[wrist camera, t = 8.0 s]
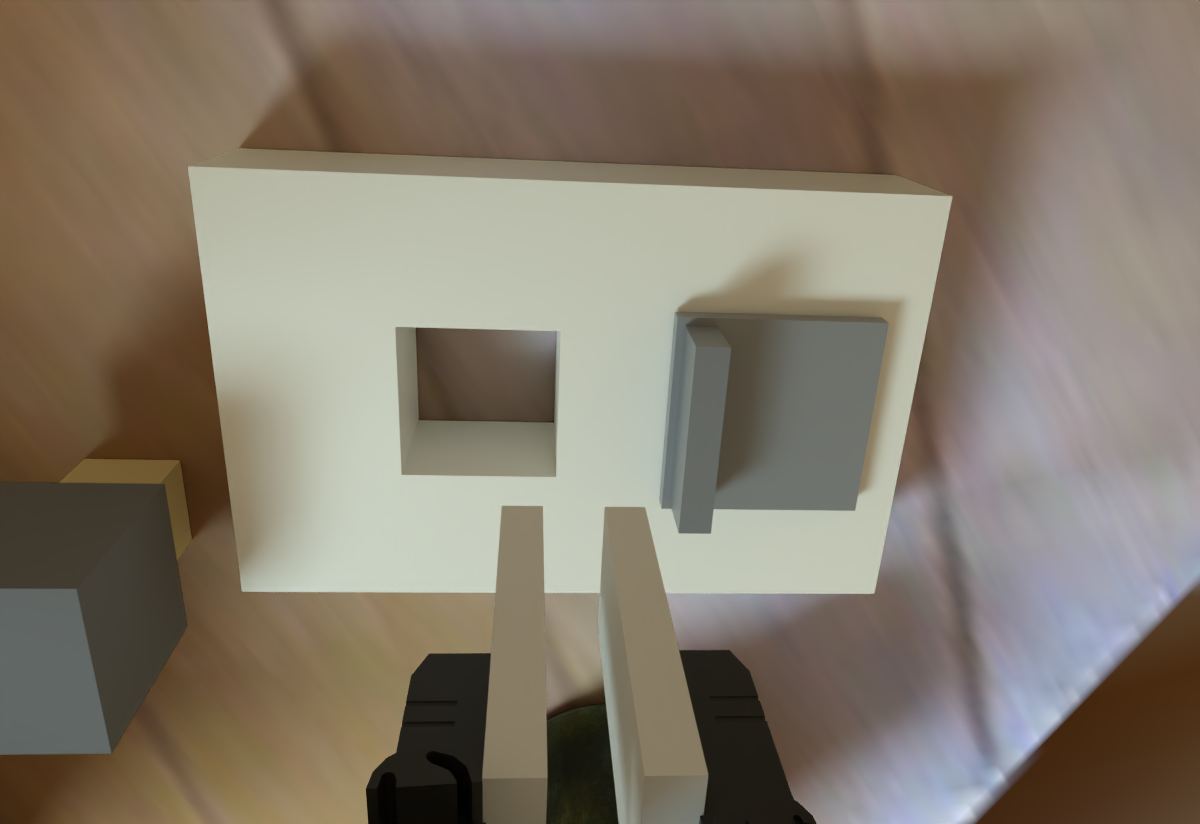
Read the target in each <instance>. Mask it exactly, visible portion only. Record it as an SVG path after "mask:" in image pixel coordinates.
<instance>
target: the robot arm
mask: <svg viewBox="0 0 1200 824" xmlns="http://www.w3.org/2000/svg"><path fill="white" fill-rule="evenodd" d="M598 634H599V643H600V653H601V662H602V672H603V681H604V690H605V700H606V709H607V718H608V728H609V737H610V746H611V756H612V765H613V774H614V784H615V793H616V803H617V812H618V821H619V824H816V822H815V820H814V818H813V816H812V815H811V814H810V813H809V812H808V811H807V810H806V809H805V808H804V807H803V806H801V805H800V804H799V803H798V802H797V801H795V800H794V798H793V796H792V794H791V792H790V789H789V786H788V783H787V780H786V777H785V774H784V771H783V768H782V765H781V762H780V759H779V756H778V753H777V751H776V748H775V745H774V742H773V739H772V736H771V733H770V730H769V727H768V724H767V721H765V715H764V712H763V709H762V706H761V704H760V701H758V695H757V692H756V689H755V686H754V683H753V680H752V677H751V674H750V671H749V670H748V669H747V668H746V667H745V666H744V665H743V664H742V663H741V662H740V661H739V660H738V659H737V658H736V657H735V656H734V655H733V653H732V652H731V651H730V650H681V651H679V648H678V644H677V640H676V636H675V631H674V627H673V623H672V619H671V614H670V610H669V606H668V602H667V597H666V593H665V589H664V585H663V580H662V576H661V572H660V568H659V564H658V559H657V555H656V551H655V547H654V542H653V538H652V534H651V530H650V525H649V521H648V517H647V513H646V509H645V507H605V510H604V528H603V546H602V564H601V582H600V599H599V617H598ZM547 778H548V777H547V717H546V658H545V598H544V539H543V506H502V509H501V523H500V537H499V551H498V564H497V578H496V592H495V606H494V620H493V634H492V648H491V653H473V654H429V655H428V656H427V657H426V658H425V660H424V661H423V662H422V663H421V664H420V666H419V667H418V668H417V669H416V671H415V672H414V673H413V674H412V676H411V680H410V685H409V690H408V695H407V701H406V706H405V711H404V716H403V721H402V727H401V731H400V736H399V742H398V747H397V752H396V753H395V754H393V755H391V756H389V757H387V758H386V759H385V760H384V761H383V762H382V763H381V764H380V765H379V766H378V767H377V768H376V769H375V770H374V771H373V773H372V775H371V778H370V780H369V783H368V785H367V788H366V796H367V811H368V824H546V809H547Z"/></svg>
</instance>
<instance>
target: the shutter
mask: <svg viewBox="0 0 1200 824" xmlns="http://www.w3.org/2000/svg"><path fill="white" fill-rule="evenodd" d="M888 325H889V323H888V322H887V321H886V320H884V319H883V318H882V317H848V316H812V315H777V314H741V313H706V312H675V315H674V327H673V339H672V351H671V363H670V375H669V387H668V399H667V412H666V424H665V436H664V448H663V460H662V472H661V484H660V496H659V501H660V505H661V509H672V512H673V516H674V519H675V523H676V526H677V530H678V533H688V534H711V528H712V519H713V510H714V509H736V510H829V511H855V509H856V503H857V498H858V492H859V487H860V481H861V475H862V470H863V464H864V459H865V453H866V448H867V442H868V436H869V431H870V425H871V420H872V414H873V409H874V403H875V397H876V392H877V386H878V381H879V375H880V370H881V364H882V358H883V353H884V347H885V342H886V336H887V330H888Z"/></svg>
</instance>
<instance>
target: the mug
mask: <svg viewBox="0 0 1200 824" xmlns="http://www.w3.org/2000/svg"><path fill="white" fill-rule="evenodd" d="M547 777H548V778H547V809H546V824H619V821H618V812H617V803H616V793H615V784H614V774H613V765H612V756H611V746H610V737H609V728H608V718H607V709H606V704H595V705H590V706H585V707H579V708H576V709H573V710H570V711H567V712H563V713H561V714H559V715H557V716H555V717H553V718H550V719H548V720H547Z"/></svg>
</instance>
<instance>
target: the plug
mask: <svg viewBox="0 0 1200 824" xmlns="http://www.w3.org/2000/svg"><path fill="white" fill-rule="evenodd" d="M191 540H192V536H191V529H190V523H189V516H188V509H187V503H186V496H185V489H184V483H183V476H182V469H181V462H180V460H134V459H84V460H83V461H82V462H81V463H80V464H78V465H77V466H76V467H75V468H74V469H73V470H72V471H71V472H70V473H69V474H68V475H67V476H65V477H64V478H63V479H62V480H61V481H60V482H59V483H57V482H0V755H22V754H111V753H112V752H113V750H114V748H115V747H116V745H117V743H118V742H119V740H120V738H121V737H122V735H123V733H124V732H125V730H126V728H127V727H128V725H129V723H130V722H131V720H132V718H133V717H134V715H135V713H136V712H137V710H138V708H139V707H140V705H141V703H142V702H143V700H144V698H145V697H146V695H147V693H148V692H149V690H150V688H151V687H152V685H153V683H154V681H155V680H156V678H157V676H158V675H159V673H160V671H161V670H162V668H163V666H164V665H165V663H166V661H167V660H168V658H169V656H170V655H171V653H172V651H173V650H174V648H175V646H176V645H177V643H178V641H179V640H180V638H181V636H182V635H183V633H184V631H185V630H186V628H187V621H186V614H185V608H184V602H183V595H182V589H181V583H180V576H179V570H178V564H177V561H178V559H179V558H180V556H181V555H182V553H183V552H184V550H185V549H186V548H187V546H188V545H189V543H190V542H191Z"/></svg>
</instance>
